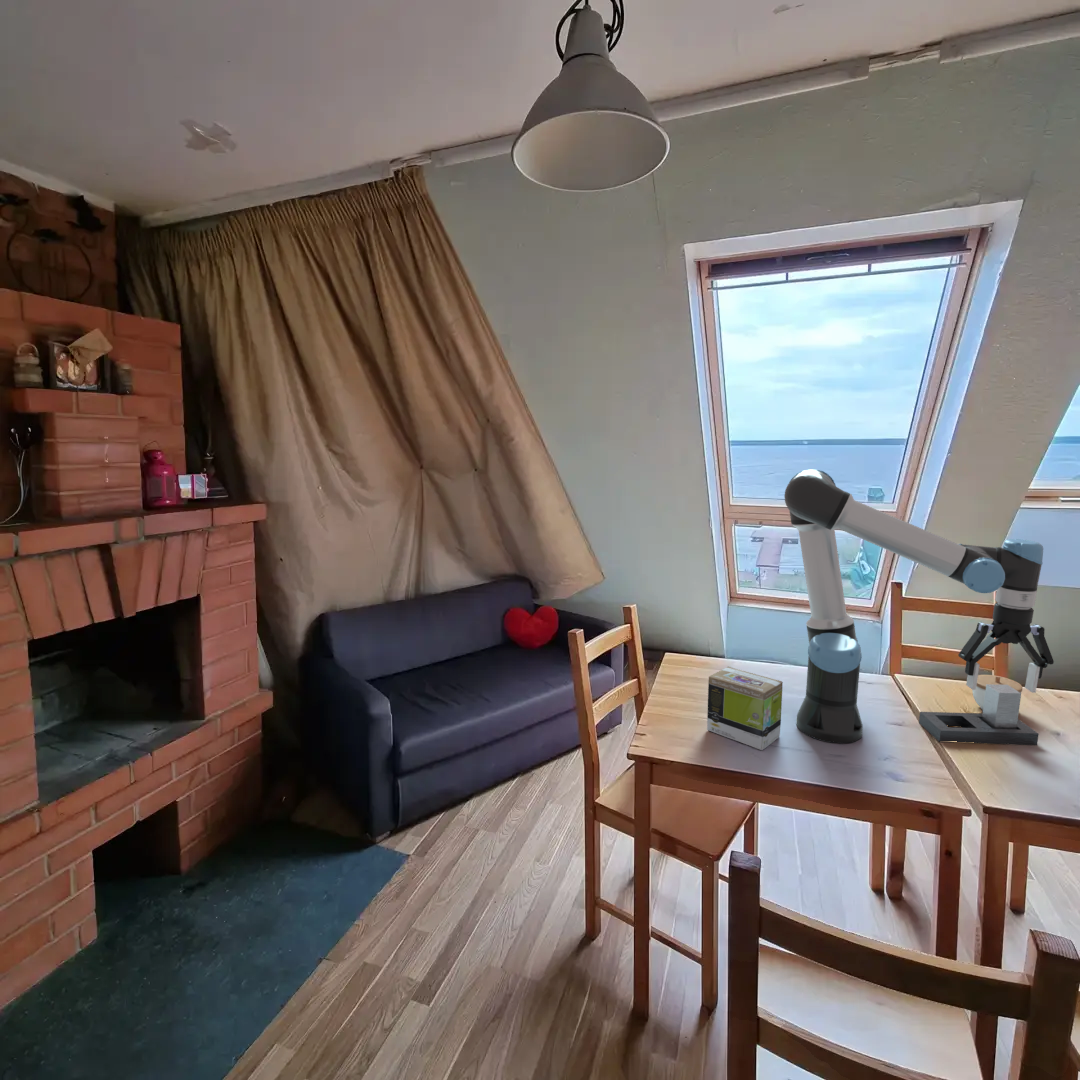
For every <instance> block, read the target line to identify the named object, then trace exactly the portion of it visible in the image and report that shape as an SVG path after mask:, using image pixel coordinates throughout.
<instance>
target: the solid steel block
mask: <svg viewBox="0 0 1080 1080" xmlns="http://www.w3.org/2000/svg"><path fill="white" fill-rule="evenodd" d="M1021 697H1022V692H1021V693H1020V692H1018V691H1017V690H1015V689H1014V688H1012V687H1010V686H1009V685H994V684H986V691H985V699H984V707H983V710H982V713H983V715H982V721H983V722H985V723H986V724H987V725H989V726H990V727H991V728H992V729H1016V728H1017V721H1018V719H1019V715H1020V714H1019V712H1020V707H1021Z"/></svg>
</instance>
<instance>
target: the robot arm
mask: <svg viewBox="0 0 1080 1080" xmlns="http://www.w3.org/2000/svg"><path fill="white" fill-rule="evenodd" d="M783 495H784V496H783V497H784V504H785V506H786V507H787V509H788V511H789V517H790V524H791V526H793V527H794V528H796V530H797V531H798V536H799V537H798V538H799V542H800V543H799V544H800V548H801V556H802V563H803V571H804V576H805V577H804V578H805V585H806V589H807V590H806V591H807V596H808V602H809V603H808V604H809V609H810V610H809V611H810V615H811V616H810V618H809V619H808V620H807V621H806V623H805V624H806V631H807V632H806V633H807V638H808V643H809V645H808V648H807V655H808V659H807V671H806V672H807V675H806V686H805V687H806V688H805V696H804V698H803V700H802V703H801V705H800V707H799V710H798V712H797V714H796V722H795V723H796V727H797V728H798V729H799V730H800V731H801V732H802V733H804V735H806V736H808V737H810V738H814V739H816V740H819V741H821V742H822V741H823V742H826V743H827V742H829V743H834V744H849V743H854V742H857V741H859V740H861V738H862V736H863V729H864V728H863V723H862V719H861V715H860V711H859V707H858V693H859V691H858V690H859V680H860V672H861V671H860V669H861V662H862V659H863V658H862V657H863V656H862V649H861V645H860V644H859V641H858V638H857V636H856V635H857V632H856V628H855V621H854V618H852V617H851V616H850V615H849V614H848V613H847V609H846V602H845V595H844V587H843V578H842V575H841V567H840V559H839V558H840V557H839V551H838V546H837V544H838V543H837V539H836V532H835V530H841V531H842V532H845V533H847V534H849V535H852V536H855V537H857V538H859V539H860V540H861V539H862V540H864V541H865V542H868V543H870V544H873V545H875V546H878V547H879V548H882V549H884V550H887V551H888V552H891V553H893V554H896V555H897V556H900V557H903V558H905V559H907V560H909V561H912V562H914V563H916V564H919V565H921V566H924V567H925V568H928V569H930V570H931V571H935V572H937V573H938V574H939V573H940V574H941V575H944V576H946V577H947V578H950V579H952V580H954V581H957V582H959V583H961V584H964V585H965V586H966V587H967V588H968V589H970V590H972V591H974V592H976V593H979V594H990V593H993V592H996V593H995V599H994V600H995V603H994V604H993V611H992V622H991V624H990V623H989V624H988V623H984V622H982V621H979V622H977V625H976V628H975V631H974V632H973V633H972V635H971V636H970V637H969V639H968V641H967V642H965V645H964V646H963V647H962V649H961V650H960V651H959V652H958V657H959V658H960V659H962V660H963V661H966V662H965V667H964V668H965V669H964V673H965V674H966V675H967V678H966V684H965V686H967V687H968V688H970V690H971V691H972V690H976V685H977V678H978V675H979V672H980V665H981V664H980V663H978V662H979V661H980V660H981V659H982V658H984V657H985V656H986V655H987V654H988V653H990V652H991V650H992V649H994V648H995V647H996V646H999V645H1001V644H1005V645H1006V644H1014V645H1018V644H1019V645H1020V646H1021V648H1022V649H1023V650H1024V651H1025V652H1026V654H1027V655H1028V657H1029V658H1030V659H1031V661H1032V662H1029V663H1028V668H1027V673H1026V679H1025V685H1024V689H1026V690H1028V691H1029V692H1031V693H1033V694H1034V693H1037V687H1038V681H1039V679H1041V678H1042V676H1043V672H1044V671H1043V670H1044V669H1046V668H1047V667H1048V665H1053V664H1054V662H1055V661H1054V658H1053V656H1052V653H1051V650H1050V648H1049V645H1048V643H1047V640H1046V637H1045V630H1046V629H1045V627H1044V626H1041V625H1040V624H1037V623H1033V624H1032V622H1033V617H1034V608H1033V607H1035V604H1036V600H1037V599H1036V598H1037V592H1038V585H1039V580H1040V575H1041V570H1042V566H1043V556H1044V547H1043V544H1041V543H1040V542H1037V541H1035V540H1034V541H1033V540H1027V539H1019V538H1018V539H1017V538H1016V539H1014V538H1013V539H1012V538H1010V539H1006V540H1005V541H1004V542H1003V545H1002V547H1000V546H999V547H997V546H996V547H994V546H985V545H984V546H982V545H972V544H971V545H970V544H963V543H957V542H954V541H952V540H949V539H947V538H945V537H942V536H940V535H938V534H935V533H932V532H931V531H929V530H926V529H923V528H921V527H919V526H916V525H914V524H912V523H909V522H907V521H905V520H902V519H900V518H897V517H895V516H893V515H890V514H888V513H886V512H883V511H881V510H879V509H876V508H873V507H872V506H869V505H867V504H866V503H865V504H864V503H863V502H860V501H858V500H855V499H854V496H853V494H852V493H850V492H848V491H845V490H843V489H841V488H839V486H837V485H836V482H835V480H834V479H833V477H832V476H831V475H829V474H828V473H827V472H825V471H823V470H821V469H815V468H813V469H805V470H802V471H799V472H798V473H796V474H794V475H793V476H792V477H791V479H790V480H789V482H788V484H787V485H786V488H785V490H784V494H783ZM1031 624H1032V625H1031ZM990 631H991V632H990ZM1029 634H1031V635H1032V637H1033V641H1034V643H1035V645H1036V648H1037V650H1036V649H1035V648H1034V646H1033V645H1032V643H1031V641H1030V639H1028V637H1027V636H1029ZM1037 651H1038V652H1037Z"/></svg>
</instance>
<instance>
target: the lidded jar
mask: <svg viewBox="0 0 1080 1080" xmlns="http://www.w3.org/2000/svg"><path fill="white" fill-rule="evenodd" d="M986 684H994V685H1009V686H1010V687H1012V688H1014V689H1015V690H1017V691H1018V692H1020V693H1021V694H1022V692H1023V686H1022V684H1020V683H1019V682H1017V681H1016V680H1013V679H1011V678H1007V677H1005V676H1004V677H1003V676H999V675H993V674H978V678H977V685H976V690H972V689H971V691H972V696H973V699H974V701H975V703H977V705H978V706H979V707H980V709H981V710H982V711H983V707H984V699H985V691H986Z"/></svg>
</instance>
